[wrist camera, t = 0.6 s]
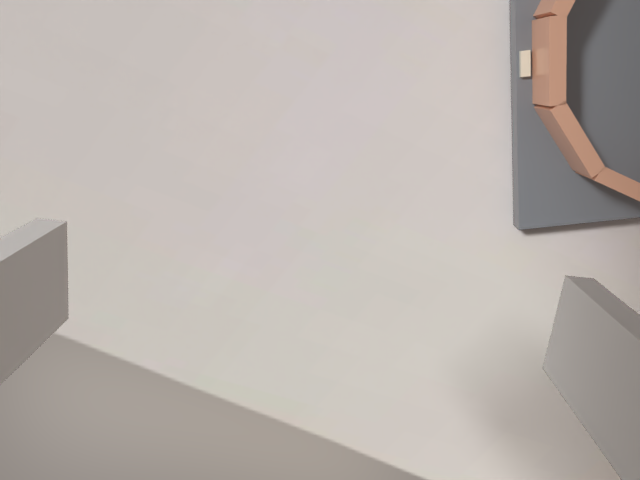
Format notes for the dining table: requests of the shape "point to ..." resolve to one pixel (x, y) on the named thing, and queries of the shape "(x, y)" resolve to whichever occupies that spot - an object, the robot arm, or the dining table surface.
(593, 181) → the socket
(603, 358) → the robot arm
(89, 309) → the dining table surface
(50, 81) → the dining table surface
